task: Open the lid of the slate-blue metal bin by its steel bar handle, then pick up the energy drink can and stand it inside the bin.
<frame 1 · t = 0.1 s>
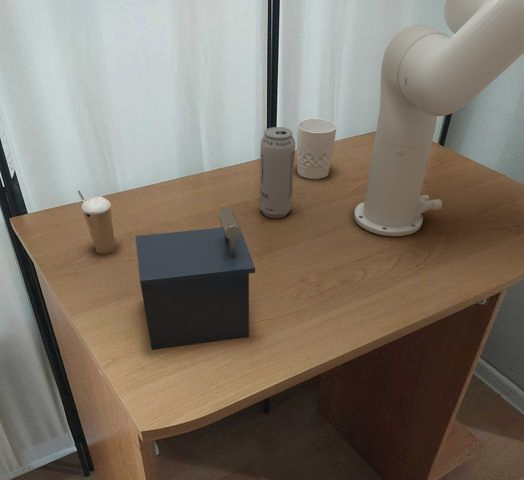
energy drink can: (275, 212, 102), on the table
bin: (196, 319, 78), on the table
lid: (192, 238, 69), point 14 cm above the table, hinge at 0.0°
white cup: (312, 173, 115), on the table
milkshake: (103, 249, 92), on the table
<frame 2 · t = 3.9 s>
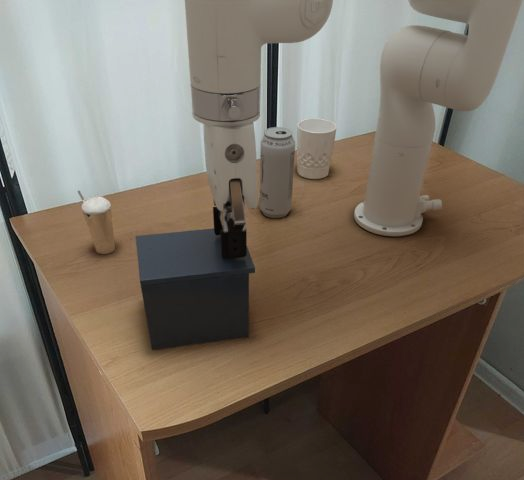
hand: (229, 243, 71), 12 cm above the table, tool pointing down, fingers closed on lid, 5 cm apart
lid: (192, 238, 69), point 14 cm above the table, hinge at 0.0°, touching gripper
everything else where it was.
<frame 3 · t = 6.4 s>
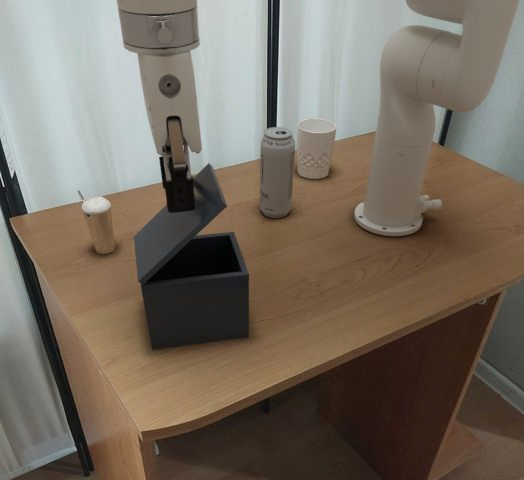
hand: (178, 197, 65), 19 cm above the table, tool pointing down, fingers closed on lid, 5 cm apart
lid: (162, 211, 65), point 18 cm above the table, hinge at 41.5°, touching gripper
everything else where it was.
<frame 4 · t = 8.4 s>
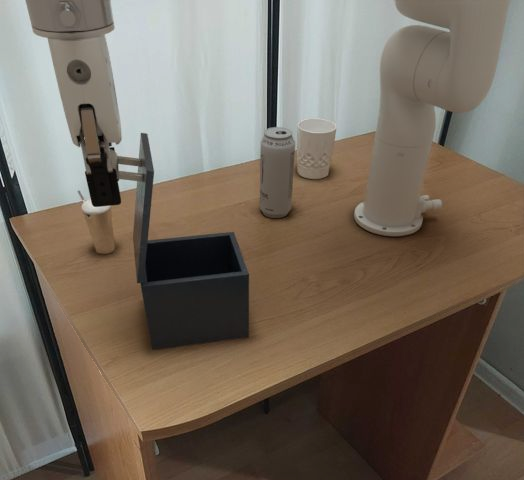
hand: (106, 191, 62), 21 cm above the table, tool pointing down, fingers closed on lid, 5 cm apart
lid: (122, 207, 64), point 19 cm above the table, hinge at 78.2°, touching gripper
everything else where it was.
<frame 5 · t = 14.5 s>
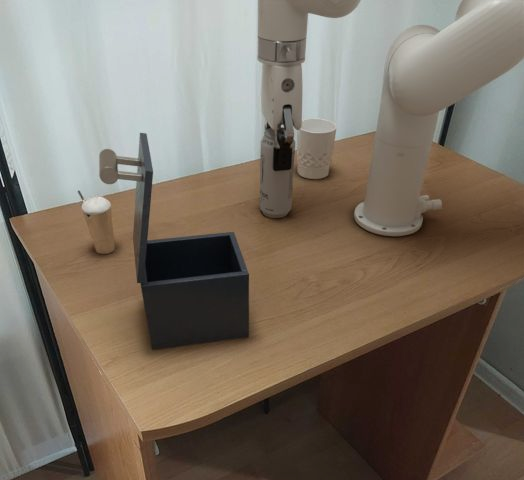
hand: (277, 160, 95), 10 cm above the table, tool pointing down, fingers closed on energy drink can, 6 cm apart
energy drink can: (275, 212, 102), on the table, touching gripper
lid: (122, 207, 64), point 19 cm above the table, hinge at 78.6°
everything else where it was.
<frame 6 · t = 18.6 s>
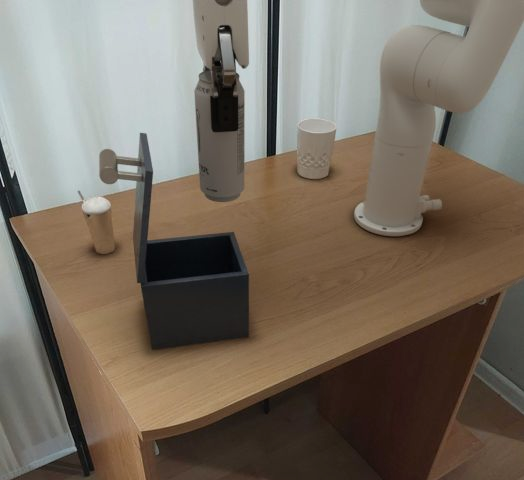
hand: (220, 119, 67), 26 cm above the table, tool pointing down, fingers closed on energy drink can, 6 cm apart
energy drink can: (222, 195, 73), point 16 cm above the table, touching gripper
everything else where it was.
when the fingers open (11 cm above the table, at t = 23.2 s): energy drink can stays where it is, resting on bin.
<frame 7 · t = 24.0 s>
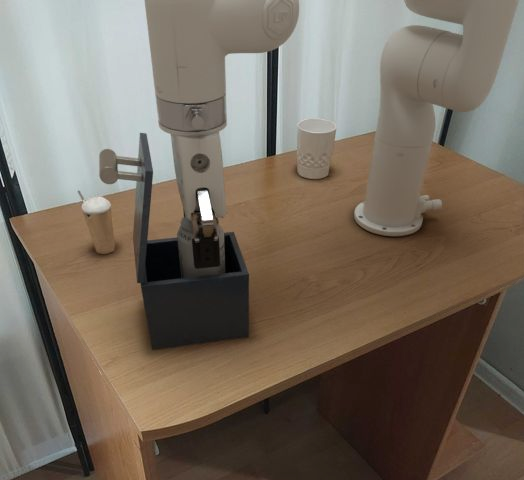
hand: (201, 245, 70), 12 cm above the table, tool pointing down, fingers open, 9 cm apart
energy drink can: (206, 315, 78), point 1 cm above the table, touching bin
everything else where it was.
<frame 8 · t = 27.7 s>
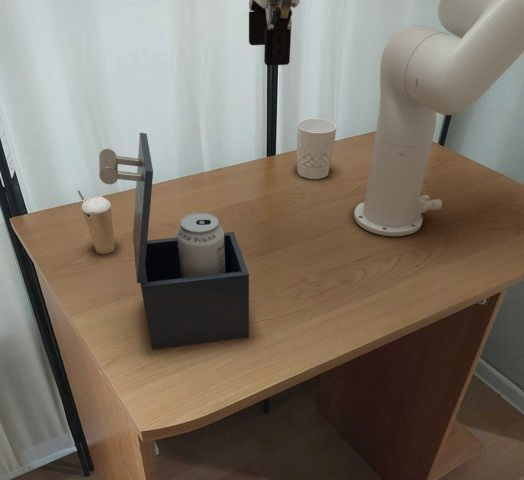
hand: (268, 54, 72), 30 cm above the table, tool pointing down, fingers open, 9 cm apart
nothing on the table moved.
at the end: lid at +79° (first picture: +0°); energy drink can inside the target area in the bin (1.5 cm from its centre), point 0.6 cm above the bin's base; energy drink can tilted 0° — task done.
